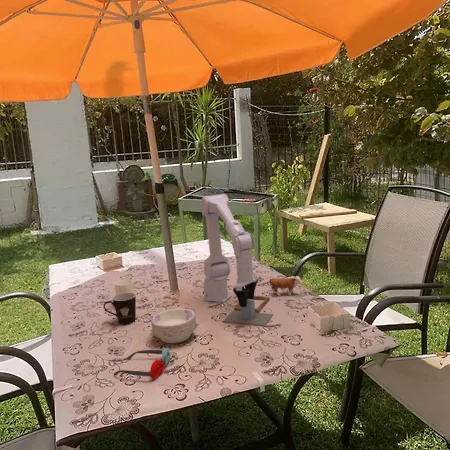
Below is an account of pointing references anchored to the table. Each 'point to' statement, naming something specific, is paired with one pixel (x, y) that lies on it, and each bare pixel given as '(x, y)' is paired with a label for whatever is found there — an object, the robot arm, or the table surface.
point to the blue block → (248, 310)
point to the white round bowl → (174, 325)
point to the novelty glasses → (154, 367)
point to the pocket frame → (266, 299)
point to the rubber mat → (258, 320)
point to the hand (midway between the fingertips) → (247, 302)
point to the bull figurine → (285, 284)
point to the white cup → (124, 286)
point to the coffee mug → (124, 307)
